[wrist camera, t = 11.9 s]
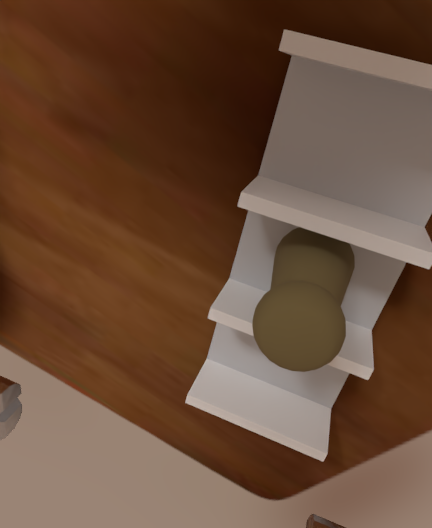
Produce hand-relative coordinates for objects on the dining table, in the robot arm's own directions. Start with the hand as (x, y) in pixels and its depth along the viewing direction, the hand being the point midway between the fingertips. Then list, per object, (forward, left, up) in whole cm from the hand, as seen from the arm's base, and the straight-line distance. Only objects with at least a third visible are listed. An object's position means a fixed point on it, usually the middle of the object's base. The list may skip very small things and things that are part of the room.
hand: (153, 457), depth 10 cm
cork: (+3, +3, -23) cm, 23 cm away
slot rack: (+3, +3, -24) cm, 24 cm away
